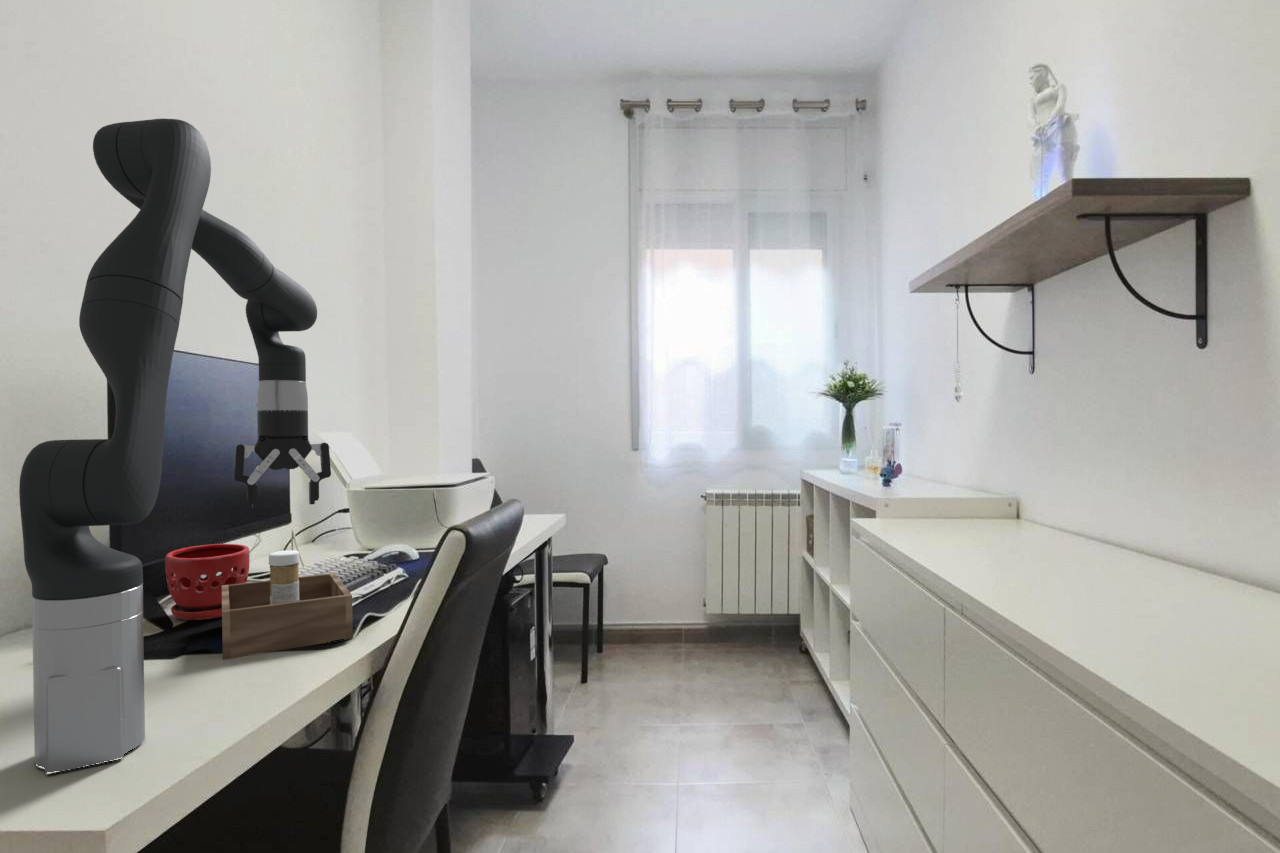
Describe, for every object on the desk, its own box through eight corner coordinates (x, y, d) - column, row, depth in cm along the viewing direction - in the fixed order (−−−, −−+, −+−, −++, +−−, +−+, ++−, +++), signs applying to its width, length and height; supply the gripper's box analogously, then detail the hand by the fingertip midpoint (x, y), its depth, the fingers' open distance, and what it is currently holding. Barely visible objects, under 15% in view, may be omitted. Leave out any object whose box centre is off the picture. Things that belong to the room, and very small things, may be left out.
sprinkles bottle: (278, 628, 117) (277, 549, 117) (305, 628, 117) (304, 549, 117) (263, 636, 113) (262, 554, 113) (291, 636, 113) (290, 554, 113)
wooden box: (352, 638, 111) (352, 595, 111) (222, 659, 102) (222, 612, 102) (335, 610, 128) (334, 572, 128) (222, 625, 119) (221, 585, 119)
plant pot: (149, 620, 123) (148, 553, 123) (218, 602, 135) (218, 541, 135) (198, 628, 118) (197, 558, 118) (266, 608, 130) (265, 545, 130)
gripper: (233, 407, 108) (235, 511, 108) (332, 408, 115) (333, 504, 116) (233, 409, 114) (234, 506, 115) (326, 409, 122) (327, 500, 122)
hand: (284, 505), depth 115 cm, fingers open, 8 cm apart
